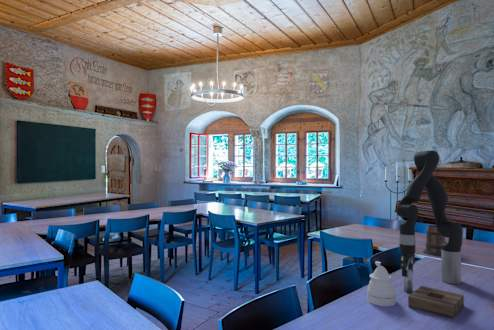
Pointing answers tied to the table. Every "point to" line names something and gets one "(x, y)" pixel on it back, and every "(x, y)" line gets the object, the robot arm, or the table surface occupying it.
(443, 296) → the socket block
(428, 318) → the table surface
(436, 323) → the table surface
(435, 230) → the tankard
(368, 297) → the honey pot
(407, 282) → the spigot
